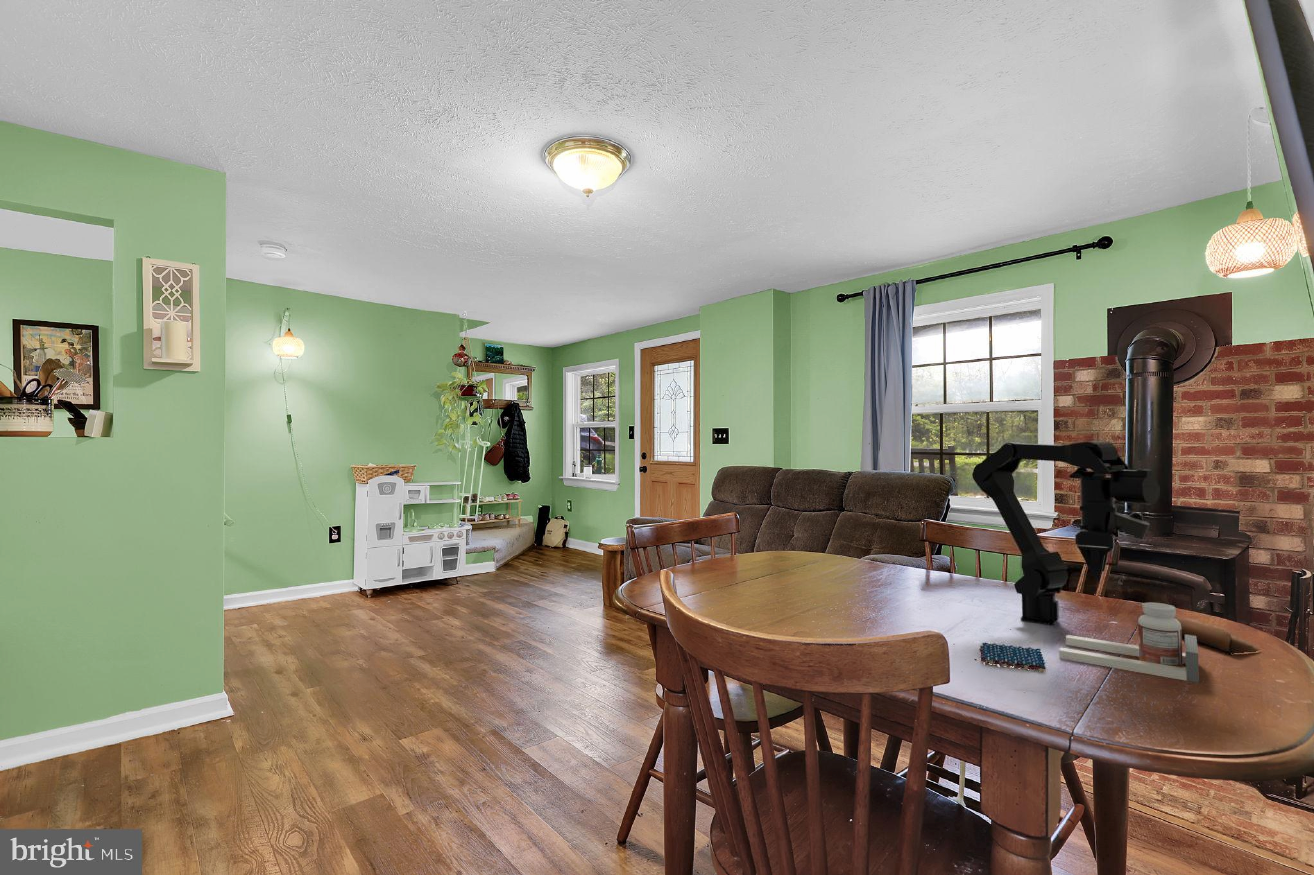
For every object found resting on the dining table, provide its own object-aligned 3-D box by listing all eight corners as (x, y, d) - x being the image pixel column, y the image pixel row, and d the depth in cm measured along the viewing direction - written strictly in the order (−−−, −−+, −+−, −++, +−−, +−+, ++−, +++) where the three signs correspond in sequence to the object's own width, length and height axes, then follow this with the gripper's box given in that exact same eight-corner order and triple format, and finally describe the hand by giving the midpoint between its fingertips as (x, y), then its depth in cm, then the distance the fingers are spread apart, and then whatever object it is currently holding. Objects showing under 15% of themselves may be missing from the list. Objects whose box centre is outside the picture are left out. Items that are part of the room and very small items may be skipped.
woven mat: (979, 650, 124) (978, 640, 124) (1040, 657, 119) (1040, 647, 119) (980, 667, 114) (979, 656, 114) (1047, 676, 109) (1046, 665, 109)
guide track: (1059, 658, 117) (1058, 631, 117) (1067, 642, 126) (1066, 617, 126) (1199, 682, 104) (1198, 653, 104) (1197, 663, 113) (1196, 636, 113)
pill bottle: (1150, 658, 116) (1148, 599, 116) (1190, 668, 110) (1188, 607, 110) (1131, 664, 113) (1130, 604, 113) (1171, 675, 108) (1169, 611, 108)
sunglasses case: (1271, 653, 117) (1253, 623, 117) (1242, 673, 116) (1225, 644, 116) (1182, 625, 135) (1167, 600, 135) (1157, 643, 134) (1142, 617, 134)
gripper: (1144, 506, 117) (1146, 588, 116) (1147, 498, 131) (1149, 571, 131) (1074, 503, 124) (1076, 581, 124) (1084, 496, 138) (1086, 565, 138)
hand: (1099, 574), depth 129 cm, fingers open, 9 cm apart
